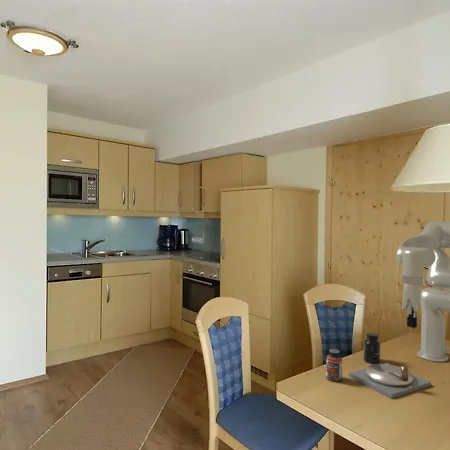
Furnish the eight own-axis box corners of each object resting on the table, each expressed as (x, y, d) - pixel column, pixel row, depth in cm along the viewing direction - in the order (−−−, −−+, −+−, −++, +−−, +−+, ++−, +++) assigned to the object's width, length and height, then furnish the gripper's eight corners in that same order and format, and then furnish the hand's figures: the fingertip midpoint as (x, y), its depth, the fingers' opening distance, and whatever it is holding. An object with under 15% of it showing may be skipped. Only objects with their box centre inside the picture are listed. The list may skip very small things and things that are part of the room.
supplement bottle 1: (324, 380, 145) (325, 351, 144) (327, 374, 150) (328, 346, 149) (340, 383, 142) (340, 354, 141) (343, 377, 147) (343, 349, 147)
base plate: (386, 366, 158) (386, 362, 158) (430, 385, 140) (430, 381, 140) (348, 376, 148) (348, 372, 148) (391, 398, 130) (391, 394, 130)
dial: (356, 371, 148) (356, 355, 148) (386, 364, 155) (386, 349, 155) (391, 390, 133) (392, 372, 133) (423, 381, 140) (423, 364, 140)
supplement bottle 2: (377, 365, 159) (378, 337, 159) (361, 361, 163) (362, 334, 163) (381, 360, 164) (382, 333, 164) (366, 356, 169) (366, 330, 168)
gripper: (406, 277, 153) (405, 320, 153) (397, 282, 141) (396, 329, 141) (427, 279, 148) (426, 324, 148) (419, 284, 136) (418, 333, 137)
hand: (411, 326), depth 145 cm, fingers closed
